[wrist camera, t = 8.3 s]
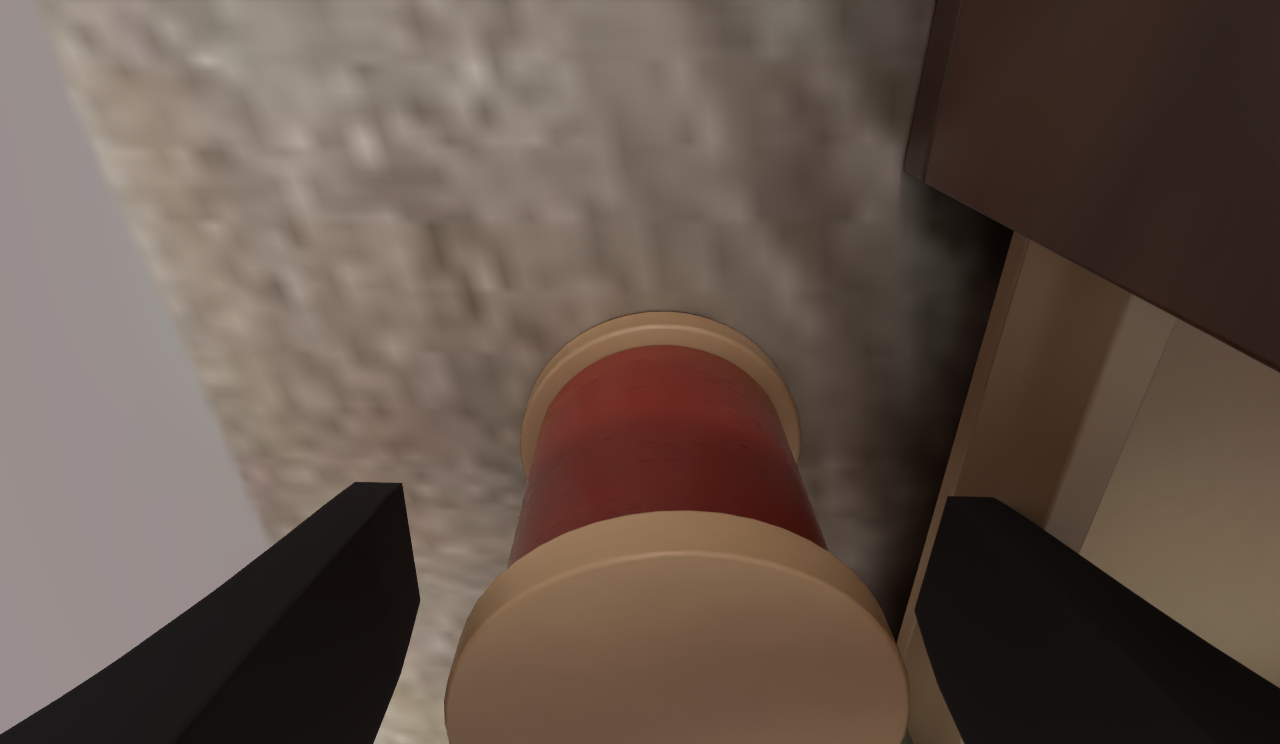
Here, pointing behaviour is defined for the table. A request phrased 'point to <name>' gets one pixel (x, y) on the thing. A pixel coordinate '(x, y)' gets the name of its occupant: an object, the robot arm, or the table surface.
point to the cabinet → (1120, 144)
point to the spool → (671, 564)
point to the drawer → (1120, 459)
